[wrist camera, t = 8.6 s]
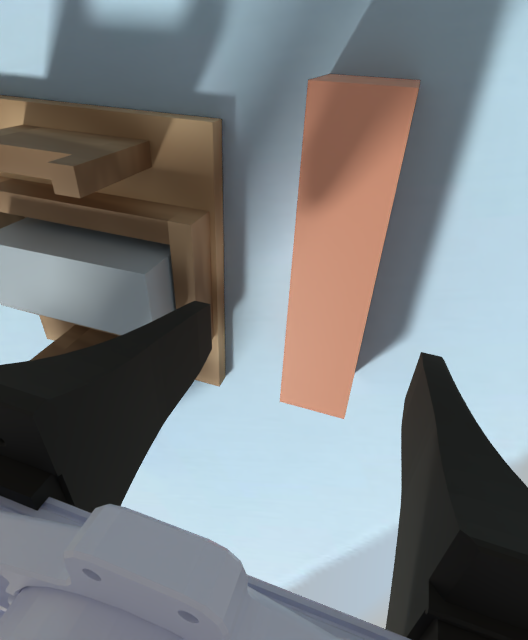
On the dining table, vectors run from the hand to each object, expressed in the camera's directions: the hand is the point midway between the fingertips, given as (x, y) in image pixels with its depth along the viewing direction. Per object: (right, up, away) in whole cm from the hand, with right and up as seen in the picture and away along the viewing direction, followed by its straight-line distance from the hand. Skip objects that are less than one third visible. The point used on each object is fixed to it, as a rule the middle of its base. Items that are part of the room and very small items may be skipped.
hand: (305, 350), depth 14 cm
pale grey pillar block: (-10, +5, +10) cm, 15 cm away
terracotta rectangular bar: (+3, +5, +7) cm, 8 cm away
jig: (-10, +5, +11) cm, 16 cm away
